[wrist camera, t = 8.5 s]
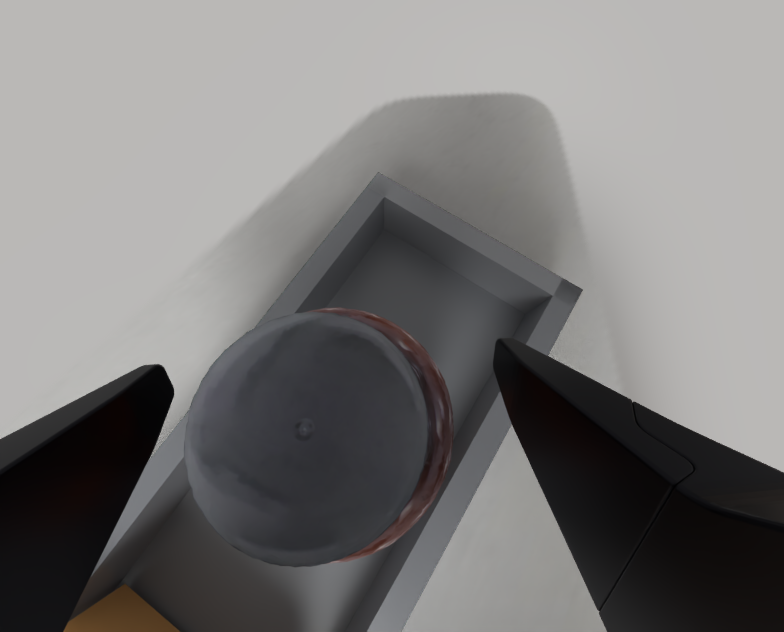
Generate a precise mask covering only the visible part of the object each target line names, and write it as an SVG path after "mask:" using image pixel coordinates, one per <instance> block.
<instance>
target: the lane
mask: <svg viewBox="0 0 784 632" xmlns="http://www.w3.org/2000/svg"><path fill="white" fill-rule="evenodd" d="M581 292H582V289H581V288H579V287H577V286H575V285H574V284H572V283H570V282H568V281H567V280H565V279H563V278H561V277H560V276H558V275H556V274H555V273H553V272H551V271H549V270H548V269H546V268H544V267H542V266H541V265H539V264H537V263H535V262H534V261H532V260H530V259H529V258H527V257H525V256H523V255H522V254H520V253H518V252H516V251H515V250H513V249H511V248H509V247H508V246H506V245H504V244H502V243H501V242H499V241H497V240H496V239H494V238H492V237H490V236H489V235H487V234H485V233H483V232H482V231H480V230H478V229H476V228H475V227H473V226H471V225H470V224H468V223H466V222H464V221H463V220H461V219H459V218H457V217H456V216H454V215H452V214H450V213H449V212H447V211H445V210H443V209H442V208H440V207H438V206H437V205H435V204H433V203H431V202H430V201H428V200H426V199H424V198H423V197H421V196H419V195H417V194H416V193H414V192H412V191H410V190H409V189H407V188H405V187H404V186H402V185H400V184H398V183H397V182H395V181H393V180H391V179H390V178H388V177H386V176H384V175H383V174H381V173H379V172H378V173H377V175H376V176H375V177H374V178H373V180H372V181H371V182H370V183H369V185H368V186H367V187H366V188H365V190H364V191H363V192H362V193H361V195H360V196H359V197H358V198H357V200H356V201H355V202H354V204H353V205H352V206H351V207H350V209H349V210H348V211H347V212H346V214H345V215H344V216H343V217H342V219H341V220H340V221H339V222H338V224H337V225H336V226H335V227H334V229H333V230H332V231H331V232H330V234H329V235H328V236H327V237H326V239H325V240H324V241H323V242H322V244H321V245H320V246H319V248H318V249H317V250H316V251H315V253H314V254H313V255H312V256H311V258H310V259H309V260H308V261H307V263H306V264H305V265H304V266H303V268H302V269H301V270H300V271H299V273H298V274H297V275H296V276H295V278H294V279H293V280H292V281H291V283H290V284H289V285H288V287H287V288H286V289H285V290H284V292H283V293H282V294H281V295H280V297H279V298H278V299H277V300H276V302H275V303H274V304H273V305H272V307H271V308H270V309H269V310H268V312H267V313H266V314H265V315H264V317H263V318H262V319H261V320H260V322H259V323H258V324H257V325H256V327H258V326H261V325H263V324H264V323H266V322H268V321H270V320H273V319H276V318H280V317H283V316H287V315H292V314H294V313H304V312H308V311H312V310H317V309H323V308H336V307H340V308H346V309H356V310H360V311H366V312H369V313H372V314H376V315H378V316H380V317H383V318H385V319H387V320H389V321H391V322H393V323H395V324H396V325H398V326H399V327H401V328H402V329H404V330H405V331H407V332H408V333H409V334H410V335H411V336H412V337H413V338H414V339H416V340H417V341H418V342H419V343H420V344H421V345H422V346H423V347H424V348H425V350H426V351H427V352H428V354H429V355H430V357H431V358H432V359H433V361H434V362H435V363H436V365H437V367H438V369H439V370H440V372H441V374H442V376H443V378H444V380H445V384H446V386H447V389H448V392H449V395H450V400H451V405H452V412H453V425H454V437H453V447H452V454H451V463H450V464H449V466H448V469H447V473H446V476H445V479H444V481H443V483H442V485H441V487H440V489H439V491H438V493H437V496H436V498H435V499H434V501H433V502H432V504H431V506H430V507H429V508H428V510H427V511H426V513H425V514H424V515H423V516H422V517H421V518H420V519H419V521H418V522H417V523H415V524H414V525H413V526H412V527H411V528H410V529H409V531H408V532H406V533H405V534H404V535H403V536H401V537H400V538H399V539H398V540H396V541H395V542H394V543H392V544H391V545H389V546H387V547H385V548H383V549H382V550H379V551H377V552H375V553H374V554H371V555H368V556H365V557H362V558H359V559H355V560H351V561H348V562H341V563H329V564H321V565H318V566H312V567H304V566H303V567H291V566H279V565H275V564H270V563H266V562H264V561H261V560H258V559H254V558H252V557H250V556H248V555H247V554H245V553H243V552H241V551H239V550H237V549H236V548H234V547H233V546H231V545H230V544H229V543H227V542H226V541H225V540H224V539H223V538H222V537H221V536H220V535H219V534H218V533H217V532H216V531H215V530H214V529H213V527H212V526H211V525H210V524H209V522H208V521H207V520H206V518H205V517H204V515H203V512H202V511H201V510H200V509H199V507H198V505H197V503H196V501H195V499H194V497H193V493H192V489H191V486H190V484H189V481H188V475H187V469H186V466H185V461H184V441H185V432H186V425H187V422H188V417H189V411H188V412H187V413H186V415H185V416H184V417H183V419H182V420H181V421H180V422H179V424H178V425H177V426H176V427H175V429H174V430H173V431H172V432H171V434H170V435H169V436H168V437H167V439H166V440H165V441H164V442H163V444H162V445H161V446H160V447H159V449H158V450H157V451H156V452H155V454H154V455H153V456H152V457H151V459H150V460H149V461H148V463H147V464H146V466H145V468H144V470H143V472H142V474H141V476H140V478H139V480H138V483H137V485H136V487H135V489H134V491H133V493H132V495H131V497H130V499H129V501H128V503H127V505H126V507H125V509H124V511H123V513H122V515H121V517H120V519H119V521H118V523H117V525H116V527H115V529H114V531H113V533H112V535H111V537H110V539H109V541H108V543H107V545H106V547H105V549H104V551H103V553H102V555H101V557H100V559H99V561H98V563H97V565H96V567H95V569H94V571H93V573H92V575H91V577H90V579H89V581H88V583H87V585H86V587H85V589H84V591H83V593H82V595H81V597H80V599H79V601H78V603H77V605H76V607H75V609H74V611H73V613H72V615H71V617H70V619H69V621H70V620H72V619H73V618H75V617H76V616H78V615H79V614H81V613H82V612H84V611H85V610H87V609H88V608H90V607H91V606H93V605H94V604H96V603H97V602H99V601H100V600H102V599H103V598H105V597H106V596H108V595H109V594H111V593H112V592H114V591H115V590H117V589H118V588H119V587H121V586H122V585H124V584H126V585H127V586H128V587H130V588H131V589H132V590H133V591H134V592H135V593H136V594H138V595H139V596H140V597H141V598H142V599H143V600H145V601H146V602H147V603H148V604H149V605H150V606H151V607H153V608H154V609H155V610H156V611H157V612H158V613H159V614H161V615H162V616H163V617H164V618H165V619H166V620H168V621H169V622H170V623H171V624H172V625H173V626H174V627H176V628H177V629H178V630H179V631H180V632H402V630H403V628H404V626H405V624H406V622H407V620H408V618H409V617H410V615H411V613H412V611H413V609H414V607H415V605H416V603H417V601H418V600H419V598H420V596H421V594H422V592H423V590H424V588H425V586H426V584H427V583H428V581H429V579H430V577H431V575H432V573H433V571H434V569H435V568H436V566H437V564H438V562H439V560H440V558H441V556H442V554H443V552H444V551H445V549H446V547H447V545H448V543H449V541H450V539H451V537H452V535H453V534H454V532H455V530H456V528H457V526H458V524H459V522H460V520H461V519H462V517H463V515H464V513H465V511H466V509H467V507H468V505H469V503H470V502H471V500H472V498H473V496H474V494H475V492H476V490H477V488H478V486H479V485H480V483H481V481H482V479H483V477H484V475H485V473H486V471H487V470H488V468H489V466H490V464H491V462H492V460H493V458H494V456H495V454H496V453H497V451H498V449H499V447H500V445H501V443H502V441H503V439H504V437H505V436H506V434H507V432H508V430H509V428H510V426H511V424H512V423H511V421H510V418H509V416H508V413H507V410H506V407H505V404H504V401H503V398H502V395H501V392H500V389H499V386H498V382H497V379H496V376H495V373H494V370H493V358H494V350H495V343H496V340H497V339H498V338H507V337H512V338H514V339H516V340H518V341H520V342H522V343H524V344H526V345H528V346H530V347H532V348H533V349H535V350H537V351H539V352H541V353H543V354H545V355H547V356H548V355H549V353H550V351H551V349H552V347H553V345H554V343H555V341H556V339H557V338H558V336H559V334H560V332H561V330H562V328H563V326H564V324H565V322H566V321H567V319H568V317H569V315H570V313H571V311H572V309H573V307H574V306H575V304H576V302H577V300H578V298H579V296H580V294H581ZM256 327H255V328H256ZM69 621H68V622H69Z"/></svg>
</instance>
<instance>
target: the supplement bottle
mask: <svg viewBox="0 0 784 632" xmlns="http://www.w3.org/2000/svg"><path fill="white" fill-rule="evenodd" d="M453 437H454V425H453V412H452V405H451V400H450V395H449V392H448V389H447V386H446V384H445V380H444V378H443V376H442V374H441V372H440V370H439V369H438V367H437V365H436V363H435V362H434V361H433V359H432V358H431V357H430V355H429V354H428V352H427V351H426V350H425V348H424V347H423V346H422V345H421V344H420V343H419V342H418V341H417V340H416V339H414V338H413V337H412V336H411V335H410V334H409V333H408V332H407V331H405V330H404V329H402V328H401V327H399V326H398V325H396V324H395V323H393V322H391V321H389V320H387V319H385V318H383V317H380V316H378V315H376V314H372V313H369V312H366V311H360V310H356V309H346V308H340V307H336V308H323V309H317V310H312V311H308V312H304V313H294V314H292V315H287V316H283V317H280V318H276V319H273V320H270V321H268V322H266V323H264V324H263V325H261V326H258V327H256V328H254V329H252V330H250V331H249V332H247V333H246V334H244V335H243V336H242V337H241V338H240V339H238V340H237V341H236V342H235V343H233V344H232V345H231V346H230V347H228V348H227V349H226V350H225V351H224V352H223V353H222V355H221V356H220V357H219V358H218V359H217V360H216V361H215V362H214V363H213V365H212V366H211V367H210V369H209V371H208V372H207V374H206V375H205V377H204V378H203V380H202V381H201V384H200V386H199V388H198V391H197V392H196V394H195V396H194V398H193V400H192V403H191V406H190V409H189V417H188V422H187V425H186V432H185V441H184V461H185V466H186V469H187V475H188V481H189V484H190V486H191V489H192V493H193V497H194V499H195V501H196V503H197V505H198V507H199V509H200V510H201V511H202V512H203V515H204V517H205V518H206V520H207V521H208V522H209V524H210V525H211V526H212V527H213V529H214V530H215V531H216V532H217V533H218V534H219V535H220V536H221V537H222V538H223V539H224V540H225V541H226V542H227V543H229V544H230V545H231V546H233V547H234V548H236V549H237V550H239V551H241V552H243V553H245V554H247V555H248V556H250V557H252V558H254V559H258V560H261V561H264V562H266V563H270V564H275V565H279V566H291V567H303V566H304V567H312V566H318V565H321V564H329V563H341V562H348V561H351V560H355V559H359V558H362V557H365V556H368V555H371V554H374V553H375V552H377V551H379V550H382V549H383V548H385V547H387V546H389V545H391V544H392V543H394V542H395V541H396V540H398V539H399V538H400V537H401V536H403V535H404V534H405V533H406V532H408V531H409V529H410V528H411V527H412V526H413V525H414V524H415V523H417V522H418V521H419V519H420V518H421V517H422V516H423V515H424V514H425V513H426V511H427V510H428V508H429V507H430V506H431V504H432V502H433V501H434V499H435V498H436V496H437V493H438V491H439V489H440V487H441V485H442V483H443V481H444V479H445V476H446V473H447V469H448V466H449V464H450V463H451V454H452V447H453Z"/></svg>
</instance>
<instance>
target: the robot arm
mask: <svg viewBox="0 0 784 632" xmlns="http://www.w3.org/2000/svg"><path fill="white" fill-rule="evenodd" d="M493 370H494V373H495V376H496V379H497V382H498V386H499V389H500V392H501V395H502V398H503V401H504V404H505V407H506V410H507V413H508V416H509V418H510V421H511V423H512V426H513V428H514V430H515V432H516V434H517V436H518V439H519V441H520V443H521V445H522V447H523V449H524V452H525V454H526V456H527V458H528V460H529V462H530V465H531V467H532V469H533V471H534V473H535V475H536V478H537V480H538V482H539V484H540V486H541V488H542V491H543V493H544V495H545V497H546V499H547V501H548V504H549V506H550V508H551V510H552V512H553V514H554V517H555V519H556V521H557V523H558V525H559V527H560V530H561V532H562V534H563V536H564V538H565V540H566V543H567V545H568V547H569V549H570V551H571V553H572V556H573V558H574V560H575V562H576V564H577V566H578V569H579V571H580V573H581V575H582V577H583V579H584V582H585V584H586V586H587V588H588V590H589V593H590V595H591V597H592V599H593V601H594V603H595V606H596V608H597V610H598V611H600V612H599V615H600V617H601V619H602V621H603V623H604V626H605V628H606V630H607V632H784V473H783V472H781V471H779V470H777V469H775V468H772V467H770V466H768V465H766V464H764V463H762V462H759V461H757V460H755V459H753V458H751V457H749V456H746V455H744V454H742V453H740V452H738V451H735V450H733V449H731V448H729V447H727V446H724V445H722V444H720V443H718V442H716V441H714V440H711V439H709V438H707V437H705V436H703V435H701V434H699V433H696V432H694V431H692V430H690V429H688V428H686V427H684V426H681V425H679V424H677V423H675V422H673V421H671V420H669V419H667V418H665V417H663V416H661V415H659V414H658V413H656V412H654V411H651V410H650V409H648V408H646V407H644V406H642V405H640V404H638V403H636V402H633V403H632V400H631V399H628V398H627V397H625V396H623V395H621V394H619V393H617V392H615V391H613V390H612V389H610V388H608V387H606V386H604V385H602V384H600V383H598V382H596V381H594V380H593V379H591V378H589V377H587V376H585V375H583V374H581V373H579V372H577V371H575V370H573V369H572V368H570V367H568V366H566V365H564V364H562V363H560V362H558V361H556V360H554V359H553V358H551V357H549V356H547V355H545V354H543V353H541V352H539V351H537V350H535V349H533V348H532V347H530V346H528V345H526V344H524V343H522V342H520V341H518V340H516V339H514V338H512V337H507V338H498V339H497V340H496V343H495V350H494V358H493ZM173 397H174V388H173V385H172V383H171V381H170V379H169V377H168V375H167V373H166V371H165V369H164V367H163V366H162V365H159V364H154V365H144V366H141V367H139V368H137V369H135V370H133V371H131V372H129V373H127V374H125V375H123V376H122V377H120V378H118V379H116V380H114V381H112V382H110V383H108V384H106V385H104V386H102V387H100V388H98V389H96V390H94V391H93V392H91V393H89V394H87V395H85V396H83V397H81V398H79V399H77V400H75V401H73V402H71V403H69V404H67V405H66V406H64V407H62V408H60V409H58V410H56V411H54V412H52V413H50V414H48V415H46V416H44V417H42V418H40V419H38V420H37V421H35V422H33V423H31V424H29V425H27V426H25V427H23V428H21V429H19V430H17V431H15V432H13V433H11V434H10V435H8V436H6V437H4V438H2V439H0V632H64V630H65V628H66V625H67V623H68V621H69V619H70V617H71V615H72V613H73V611H74V609H75V607H76V605H77V603H78V601H79V599H80V597H81V595H82V593H83V591H84V589H85V587H86V585H87V583H88V581H89V579H90V577H91V575H92V573H93V571H94V569H95V567H96V565H97V563H98V561H99V559H100V557H101V555H102V553H103V551H104V549H105V547H106V545H107V543H108V541H109V539H110V537H111V535H112V533H113V531H114V529H115V527H116V525H117V523H118V521H119V519H120V517H121V515H122V513H123V511H124V509H125V507H126V505H127V503H128V501H129V499H130V497H131V495H132V493H133V491H134V489H135V487H136V485H137V483H138V480H139V478H140V476H141V474H142V472H143V470H144V468H145V466H146V464H147V462H148V460H149V458H150V456H151V454H152V452H153V450H154V447H155V445H156V442H157V440H158V437H159V435H160V432H161V429H162V427H163V424H164V421H165V419H166V416H167V413H168V411H169V408H170V405H171V402H172V400H173Z"/></svg>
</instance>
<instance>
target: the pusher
mask: <svg viewBox="0 0 784 632" xmlns="http://www.w3.org/2000/svg"><path fill="white" fill-rule="evenodd" d="M64 632H180V631H179V630H178V629H177V628H176V627H174V626H173V625H172V624H171V623H170V622H169V621H168V620H166V619H165V618H164V617H163V616H162V615H161V614H159V613H158V612H157V611H156V610H155V609H154V608H153V607H151V606H150V605H149V604H148V603H147V602H146V601H145V600H143V599H142V598H141V597H140V596H139V595H138V594H136V593H135V592H134V591H133V590H132V589H131V588H130V587H128V586H127V585H126V584H124V585H122V586H121V587H119V588H118V589H117V590H115V591H114V592H112V593H111V594H109V595H108V596H106V597H105V598H103V599H102V600H100V601H99V602H97V603H96V604H94V605H93V606H91V607H90V608H88V609H87V610H85V611H84V612H82V613H81V614H79V615H78V616H76V617H75V618H73V619H72V620H70V621H69V622H68V623H67V625H66V628H65V630H64Z"/></svg>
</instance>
